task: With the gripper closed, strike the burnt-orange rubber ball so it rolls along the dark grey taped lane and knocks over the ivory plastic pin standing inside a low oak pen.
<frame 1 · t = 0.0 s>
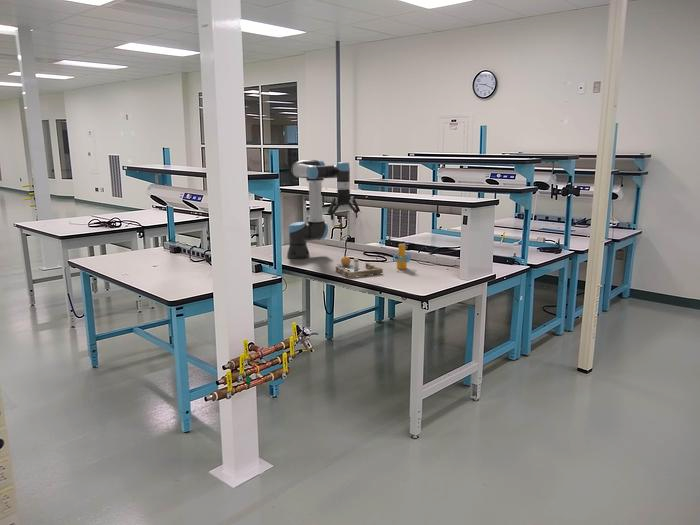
hand: (344, 224, 316), 28 cm above the table, tool pointing down, fingers open, 13 cm apart
ball: (345, 261, 332), on the table
lane tape: (351, 268, 324), on the table
pin pen: (358, 272, 315), on the table
orange toy figure: (401, 268, 324), on the table
pin: (356, 271, 318), on the table
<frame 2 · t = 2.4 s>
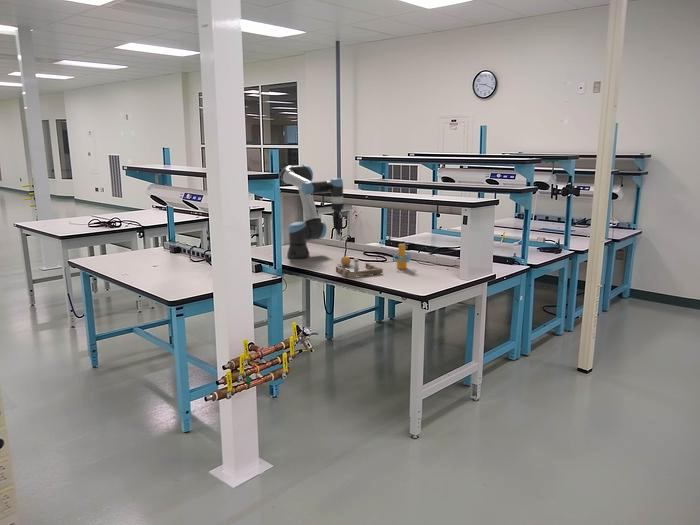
hand: (338, 239, 339), 15 cm above the table, tool pointing down, fingers closed
nothing on the table moved.
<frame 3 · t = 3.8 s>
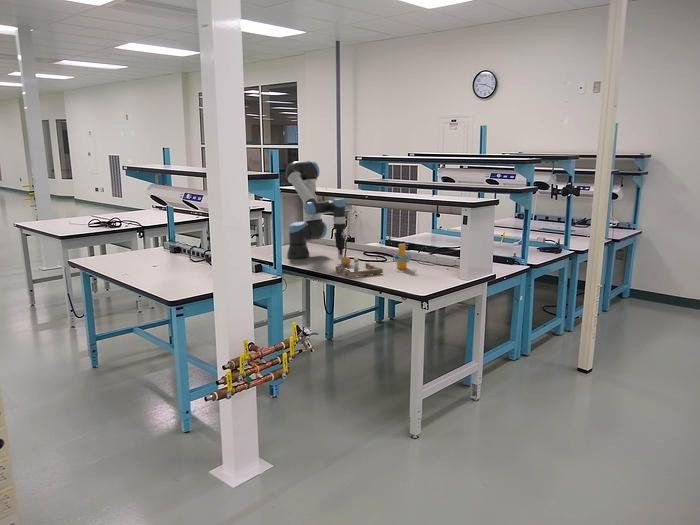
hand: (340, 259, 339), 2 cm above the table, tool pointing down, fingers closed
nothing on the table moved.
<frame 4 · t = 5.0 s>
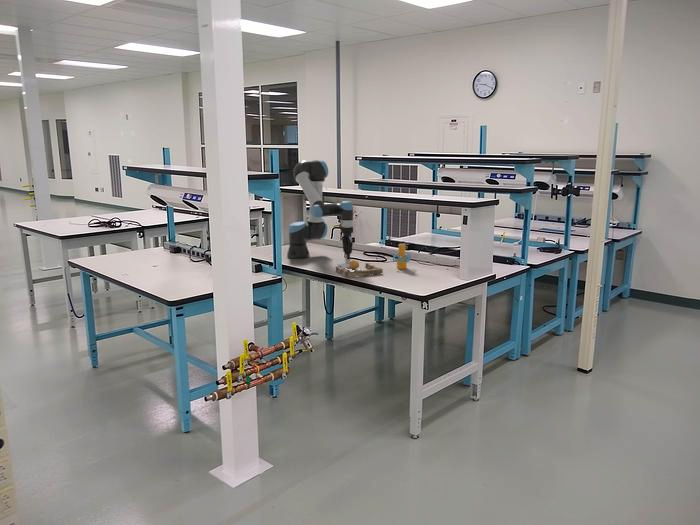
hand: (347, 263, 329), 2 cm above the table, tool pointing down, fingers closed
ball: (354, 265, 320), on the table
pin: (357, 269, 317), point 1 cm above the table, tilted 90°
everything else where it was.
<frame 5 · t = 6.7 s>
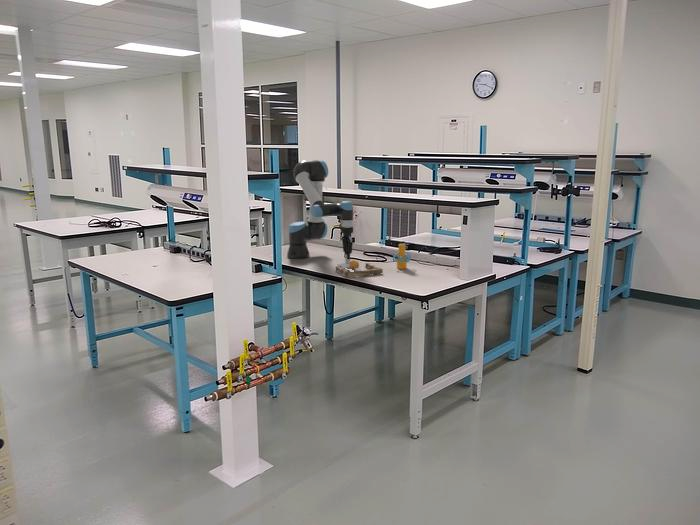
hand: (347, 263, 329), 2 cm above the table, tool pointing down, fingers closed
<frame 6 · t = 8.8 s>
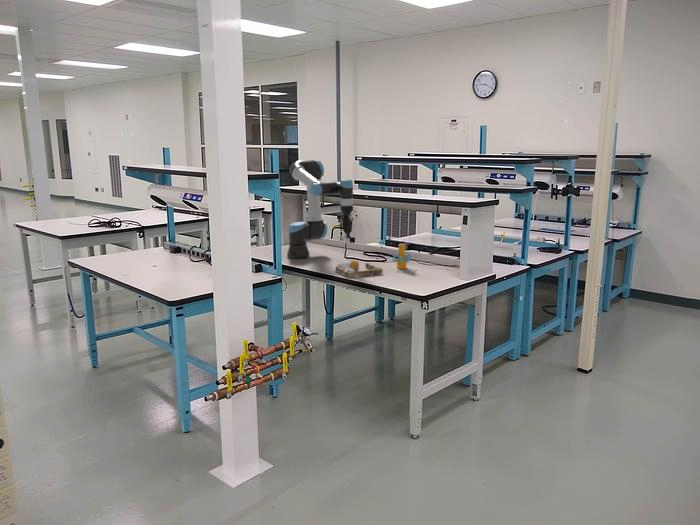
hand: (347, 243, 326), 15 cm above the table, tool pointing down, fingers closed
pin: (351, 270, 315), point 1 cm above the table, tilted 90°
everything else where it was.
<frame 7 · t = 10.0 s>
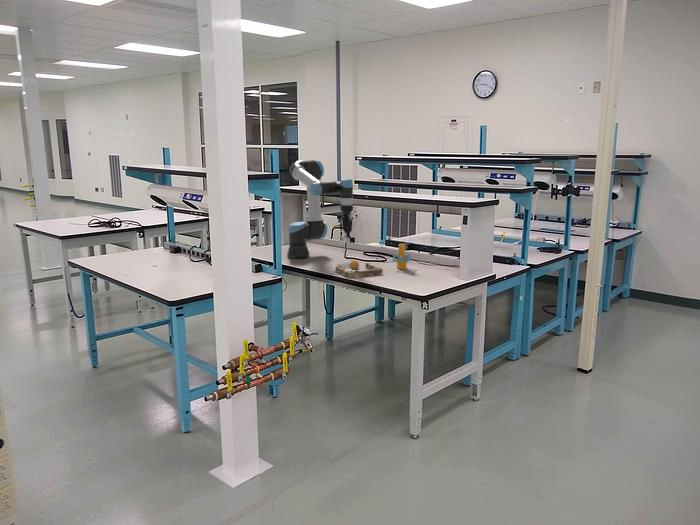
hand: (347, 242, 326), 15 cm above the table, tool pointing down, fingers closed
pin: (348, 270, 315), point 1 cm above the table, tilted 90°
everything else where it was.
at the end: pin tilted 90°; pin never touched the robot; ball moved 12.8 cm from its start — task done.
